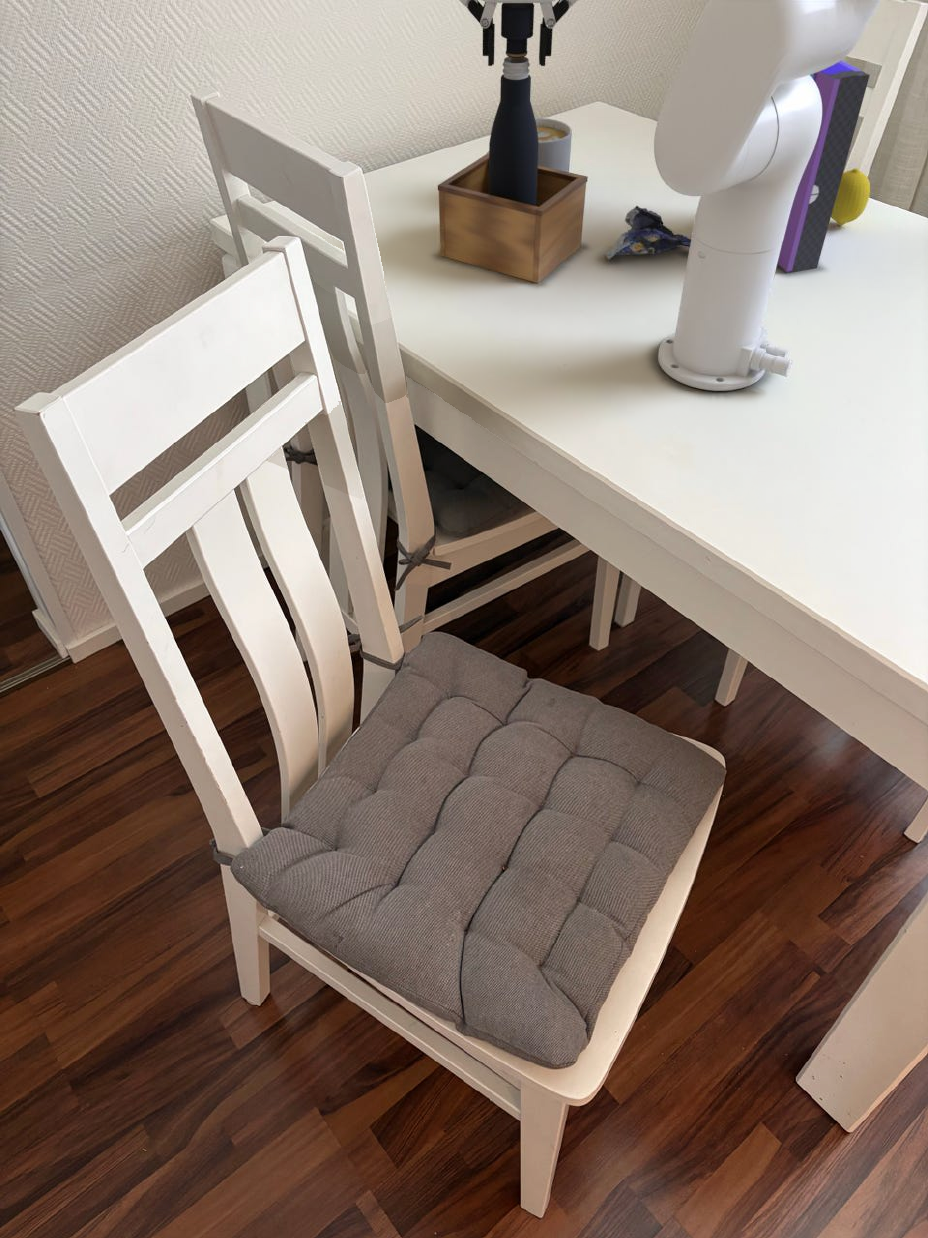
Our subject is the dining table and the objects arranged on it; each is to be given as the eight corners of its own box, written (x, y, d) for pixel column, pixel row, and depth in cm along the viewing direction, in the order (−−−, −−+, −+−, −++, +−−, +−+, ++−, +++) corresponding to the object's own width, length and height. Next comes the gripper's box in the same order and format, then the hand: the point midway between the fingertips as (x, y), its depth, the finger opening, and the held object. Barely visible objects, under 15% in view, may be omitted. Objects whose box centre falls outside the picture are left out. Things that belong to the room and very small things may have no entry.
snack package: (595, 233, 137) (605, 269, 128) (607, 188, 132) (618, 222, 124) (674, 246, 138) (689, 282, 130) (689, 201, 134) (705, 236, 126)
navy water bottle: (482, 244, 134) (483, -1, 113) (524, 238, 136) (533, -6, 114) (496, 264, 130) (500, 13, 108) (540, 257, 131) (553, 8, 110)
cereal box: (722, 220, 139) (758, 35, 122) (751, 215, 140) (790, 31, 123) (786, 273, 128) (835, 77, 110) (816, 267, 129) (870, 72, 111)
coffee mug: (559, 183, 149) (563, 115, 142) (573, 210, 142) (578, 139, 135) (475, 189, 148) (475, 121, 140) (486, 216, 141) (486, 146, 133)
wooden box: (581, 246, 134) (587, 176, 127) (538, 283, 126) (542, 211, 119) (486, 221, 140) (487, 153, 132) (439, 255, 132) (437, 184, 125)
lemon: (867, 229, 137) (885, 172, 131) (836, 236, 135) (852, 178, 130) (844, 214, 140) (860, 158, 134) (812, 220, 139) (827, 164, 133)
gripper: (441, -117, 100) (445, 72, 113) (603, -118, 100) (588, 72, 113) (444, -130, 105) (447, 52, 118) (599, -130, 105) (585, 53, 118)
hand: (516, 60), depth 115 cm, fingers open, 5 cm apart
